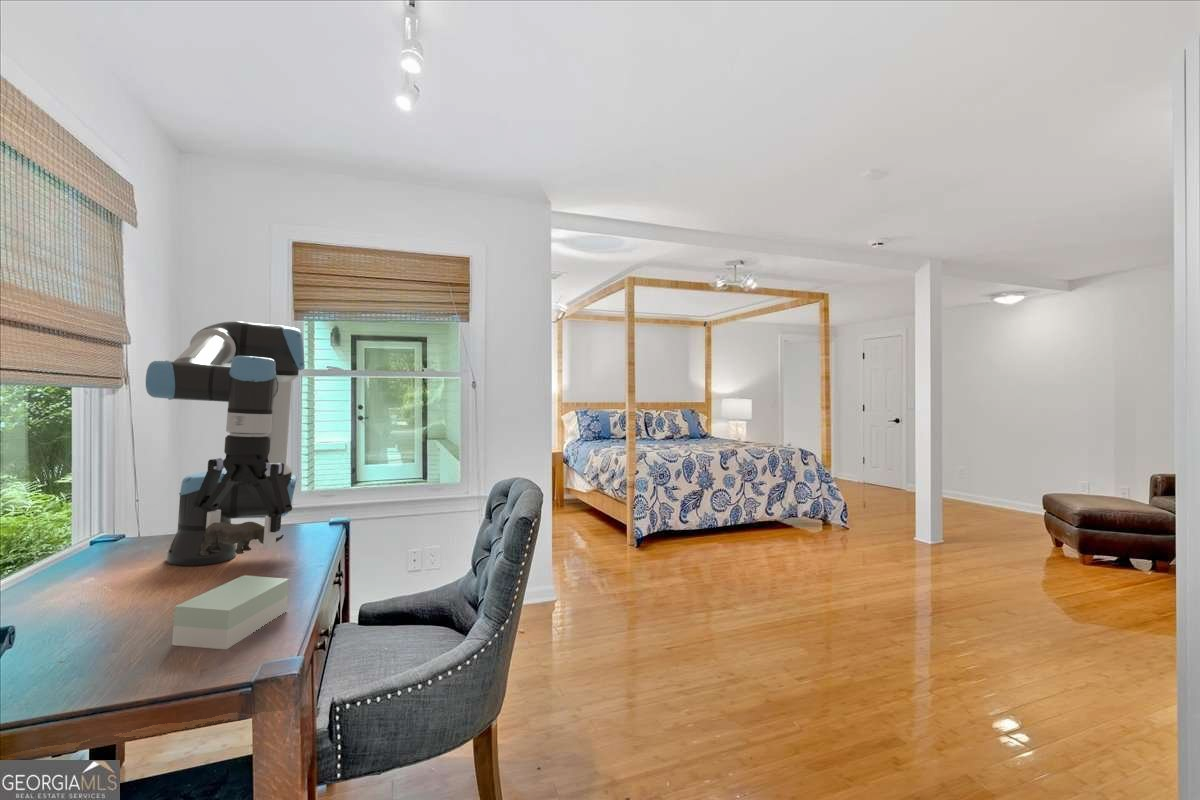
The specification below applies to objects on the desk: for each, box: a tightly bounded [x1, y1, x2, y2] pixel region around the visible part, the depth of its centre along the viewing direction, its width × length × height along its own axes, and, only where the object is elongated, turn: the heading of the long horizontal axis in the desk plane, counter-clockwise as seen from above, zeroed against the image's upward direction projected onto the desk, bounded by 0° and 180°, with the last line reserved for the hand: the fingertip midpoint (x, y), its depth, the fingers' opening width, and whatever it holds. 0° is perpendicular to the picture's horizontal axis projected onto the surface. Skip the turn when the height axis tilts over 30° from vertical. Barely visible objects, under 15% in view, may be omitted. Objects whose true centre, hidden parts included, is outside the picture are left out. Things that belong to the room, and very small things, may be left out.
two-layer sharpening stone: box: [171, 574, 290, 650], centre depth 106 cm, size 18×10×7 cm, turn 178°
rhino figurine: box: [199, 521, 284, 555], centre depth 106 cm, size 4×14×6 cm, turn 111°
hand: (240, 546), depth 106 cm, fingers closed on rhino figurine, 11 cm apart
